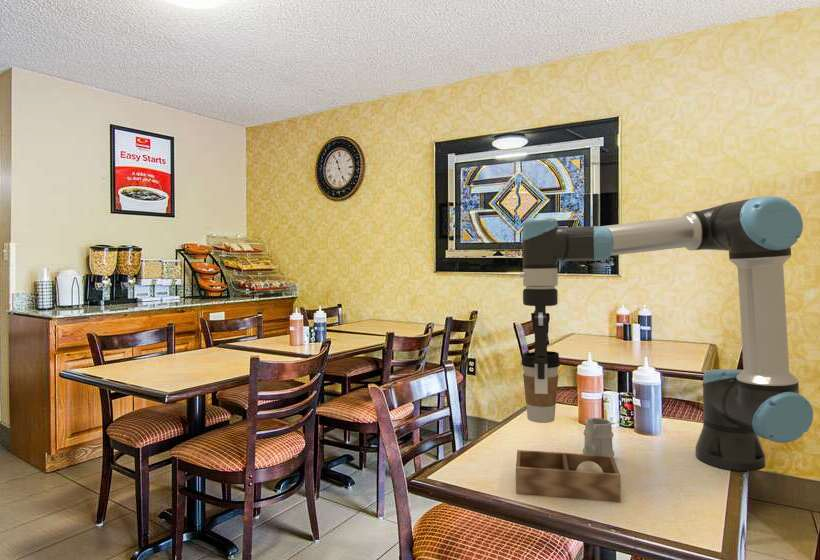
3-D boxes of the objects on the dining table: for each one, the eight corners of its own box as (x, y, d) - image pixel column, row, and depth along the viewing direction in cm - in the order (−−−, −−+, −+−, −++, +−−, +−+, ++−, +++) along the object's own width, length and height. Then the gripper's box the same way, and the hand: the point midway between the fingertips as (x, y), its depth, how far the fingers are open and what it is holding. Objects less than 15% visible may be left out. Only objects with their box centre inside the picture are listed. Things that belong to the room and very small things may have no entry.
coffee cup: (562, 425, 112) (561, 356, 112) (521, 423, 114) (521, 355, 114) (558, 414, 120) (558, 350, 120) (521, 413, 122) (521, 349, 122)
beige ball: (602, 484, 118) (602, 457, 117) (606, 495, 112) (605, 468, 112) (574, 482, 119) (574, 456, 119) (576, 493, 113) (576, 466, 113)
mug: (618, 457, 135) (618, 411, 135) (603, 472, 126) (602, 423, 126) (589, 451, 140) (588, 407, 140) (572, 465, 131) (572, 418, 130)
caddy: (612, 483, 120) (612, 455, 119) (620, 506, 109) (620, 475, 108) (517, 476, 124) (517, 449, 124) (516, 497, 114) (515, 467, 113)
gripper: (523, 285, 127) (524, 377, 128) (521, 290, 107) (522, 399, 108) (555, 285, 126) (556, 378, 126) (559, 290, 105) (560, 401, 106)
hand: (540, 388), depth 117 cm, fingers closed on coffee cup, 8 cm apart
